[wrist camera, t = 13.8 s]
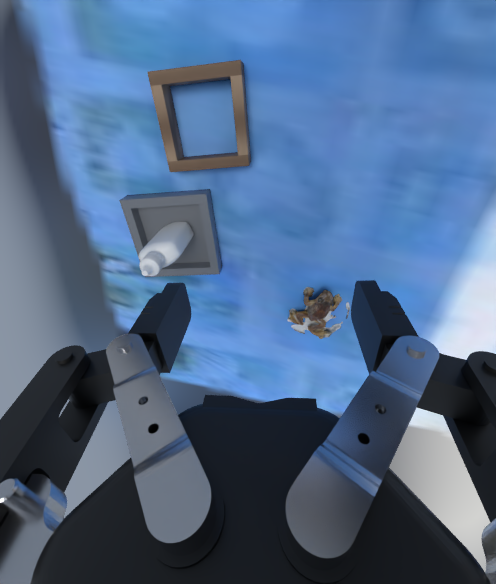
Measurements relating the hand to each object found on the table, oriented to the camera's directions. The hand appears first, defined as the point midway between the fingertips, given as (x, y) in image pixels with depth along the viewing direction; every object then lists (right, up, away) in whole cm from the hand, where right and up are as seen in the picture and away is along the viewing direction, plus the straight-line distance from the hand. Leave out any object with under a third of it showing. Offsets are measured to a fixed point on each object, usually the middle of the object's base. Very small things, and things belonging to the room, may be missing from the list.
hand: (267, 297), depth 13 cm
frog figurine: (+11, -2, +36) cm, 37 cm away
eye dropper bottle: (-12, +9, +29) cm, 32 cm away
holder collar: (-6, +21, +21) cm, 30 cm away
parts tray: (-12, +9, +29) cm, 33 cm away
